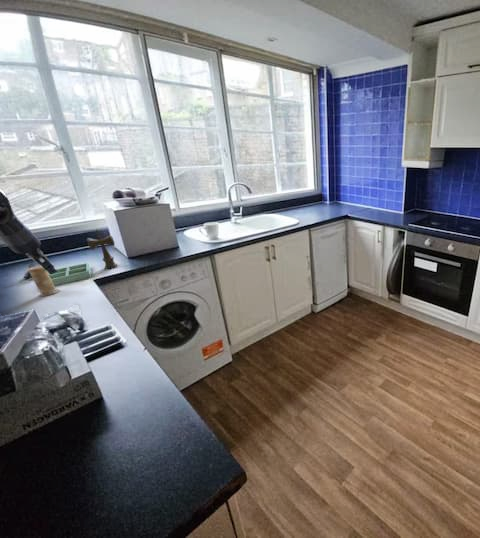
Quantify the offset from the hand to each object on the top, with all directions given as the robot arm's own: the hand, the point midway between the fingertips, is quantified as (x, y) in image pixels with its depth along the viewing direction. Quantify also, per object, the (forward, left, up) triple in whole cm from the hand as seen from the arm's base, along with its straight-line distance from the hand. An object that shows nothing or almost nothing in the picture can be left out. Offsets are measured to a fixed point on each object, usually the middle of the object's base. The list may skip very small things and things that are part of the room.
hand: (47, 266), depth 114 cm
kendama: (+17, +30, -15) cm, 37 cm away
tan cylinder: (-5, +12, -14) cm, 19 cm away
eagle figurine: (-12, +41, -15) cm, 45 cm away
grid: (+1, +29, -14) cm, 32 cm away
